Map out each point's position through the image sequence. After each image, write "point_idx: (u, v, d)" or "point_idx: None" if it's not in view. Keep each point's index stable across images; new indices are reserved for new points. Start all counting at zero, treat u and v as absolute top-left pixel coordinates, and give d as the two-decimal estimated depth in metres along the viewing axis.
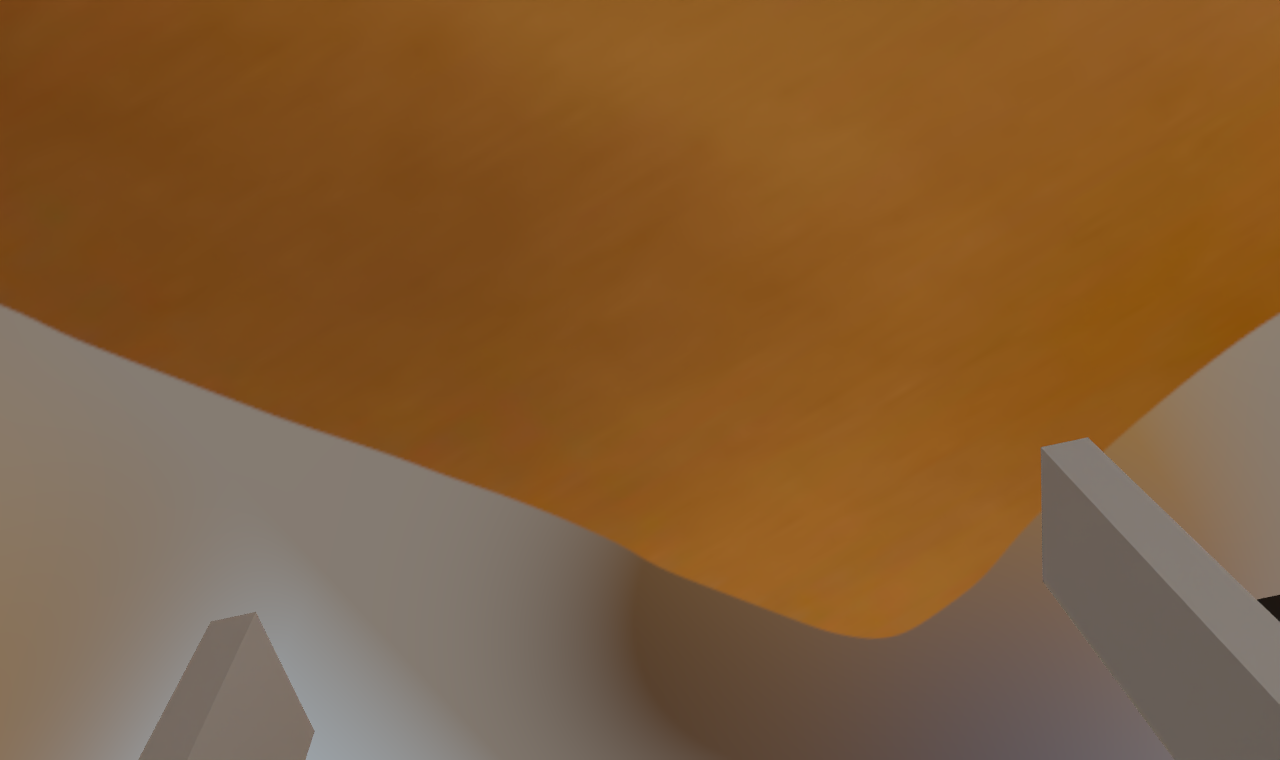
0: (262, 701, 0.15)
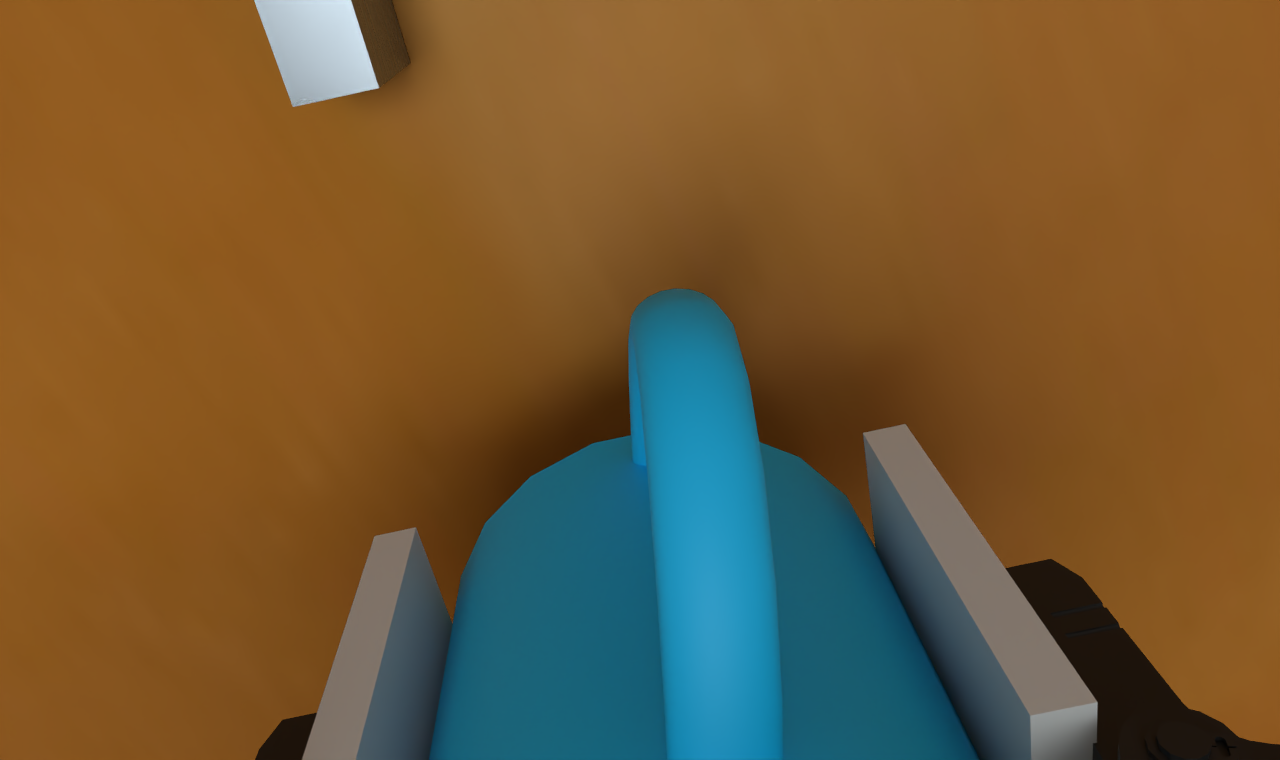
0: (426, 607, 0.16)
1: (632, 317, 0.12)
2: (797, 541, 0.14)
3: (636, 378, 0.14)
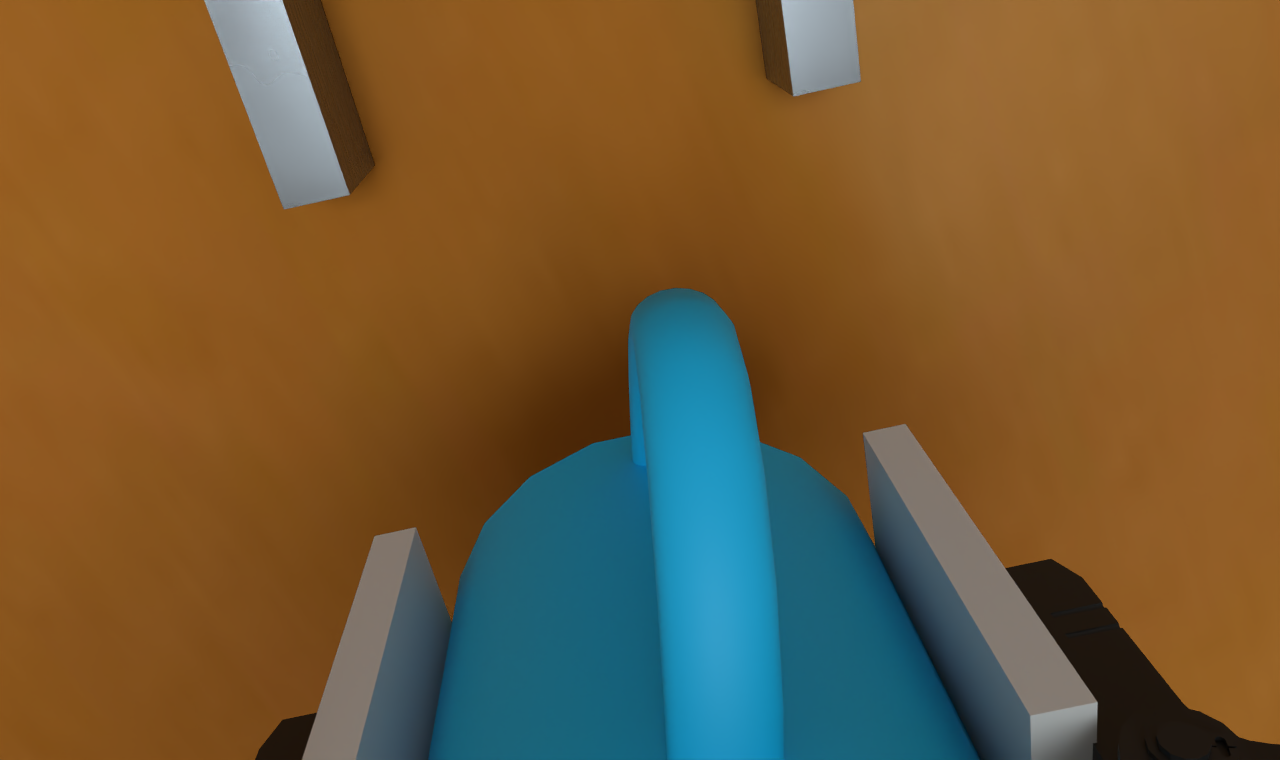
0: (426, 607, 0.16)
1: (632, 317, 0.12)
2: (797, 542, 0.14)
3: (636, 378, 0.14)
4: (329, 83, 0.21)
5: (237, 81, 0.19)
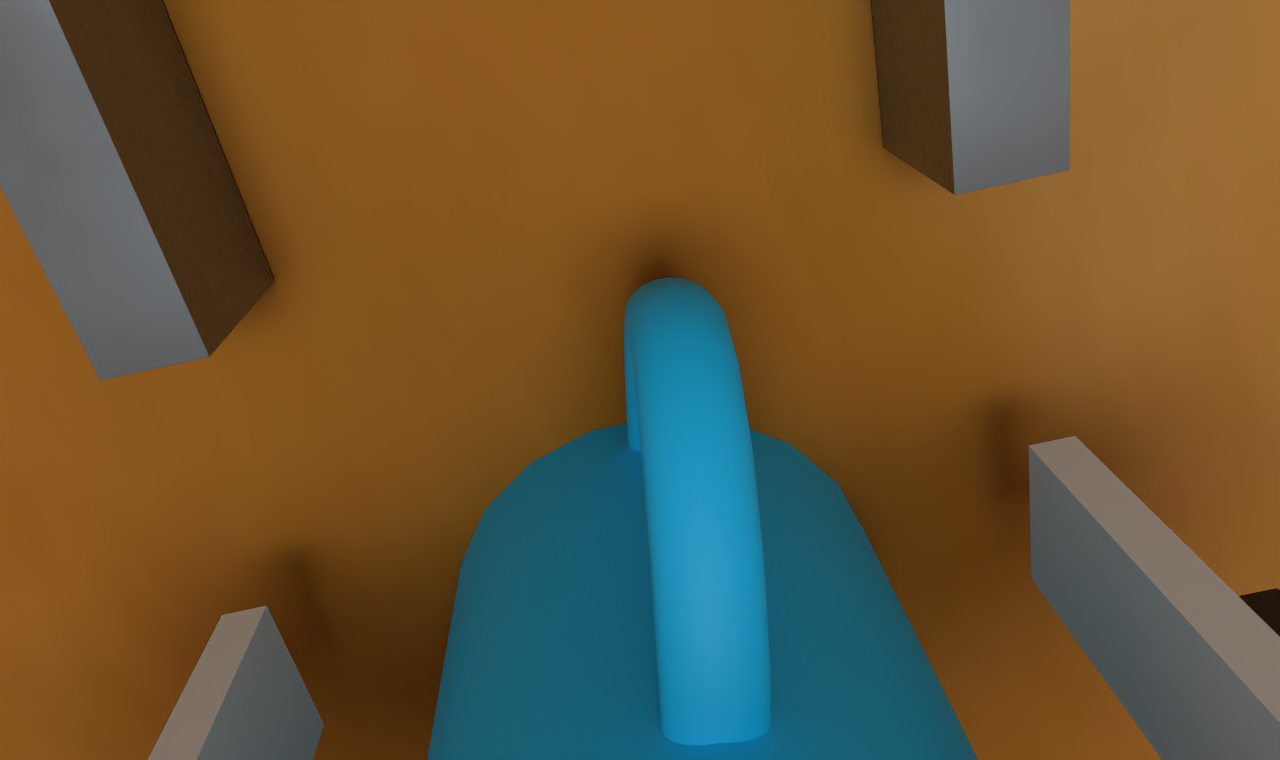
0: (273, 694, 0.15)
1: (627, 304, 0.12)
2: (787, 522, 0.14)
3: (631, 365, 0.14)
4: (179, 168, 0.13)
5: (2, 175, 0.11)
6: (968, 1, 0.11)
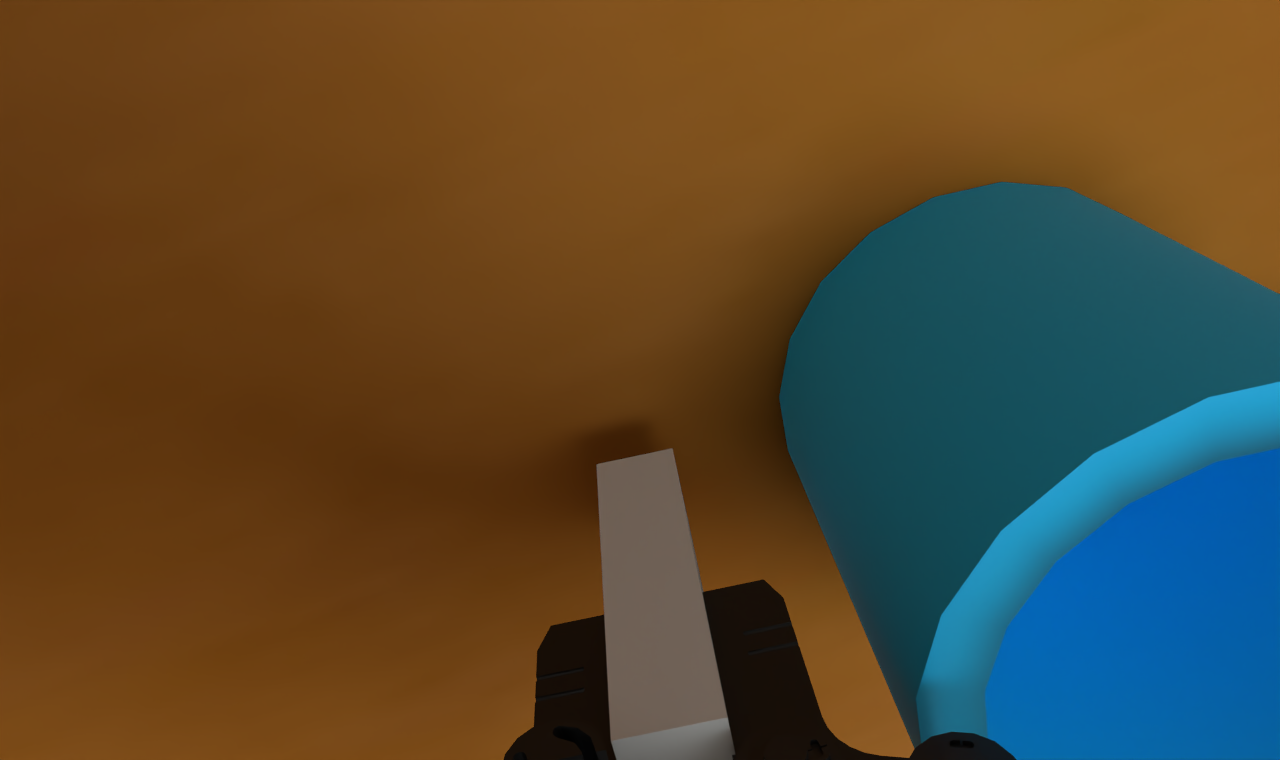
0: None
1: None
2: None
3: None
4: None
5: None
6: None
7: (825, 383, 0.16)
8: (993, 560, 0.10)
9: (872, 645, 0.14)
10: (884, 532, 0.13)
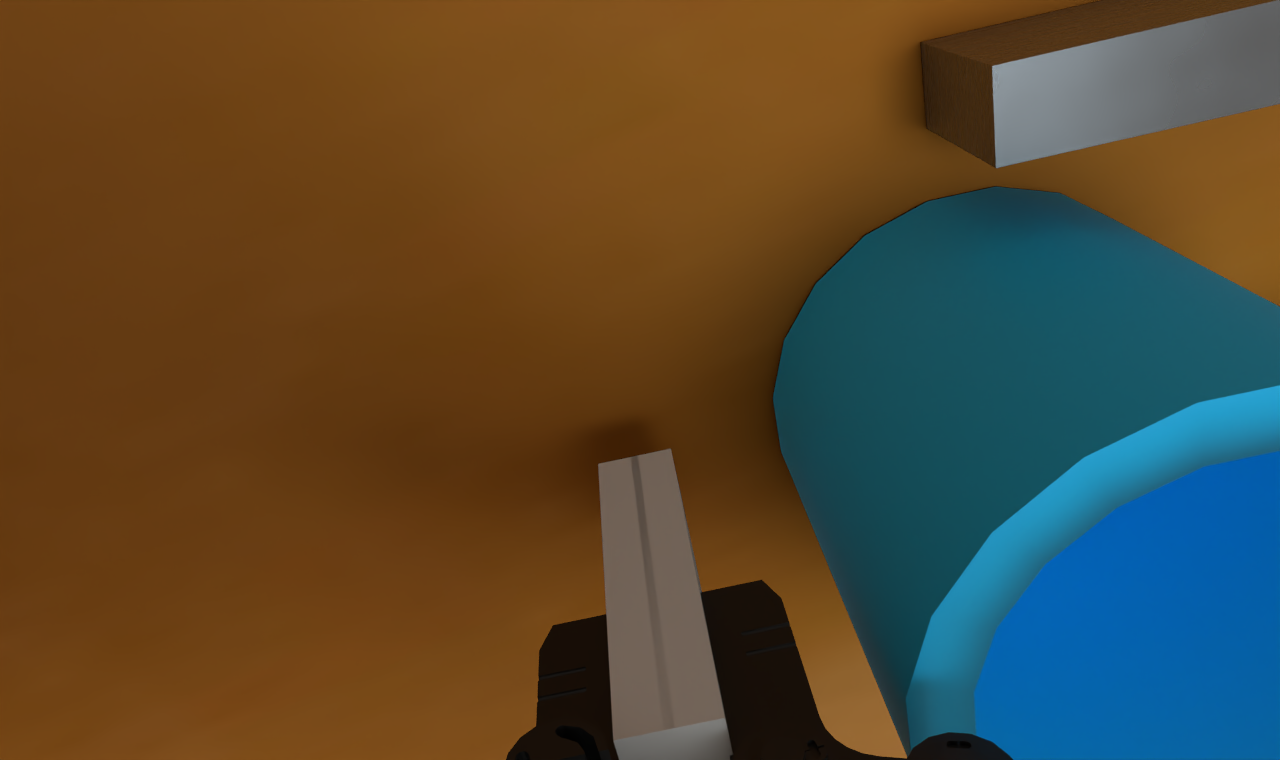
0: None
1: None
2: None
3: None
4: None
5: (1177, 20, 0.13)
6: None
7: (819, 385, 0.16)
8: (983, 562, 0.11)
9: (863, 646, 0.14)
10: (875, 533, 0.13)
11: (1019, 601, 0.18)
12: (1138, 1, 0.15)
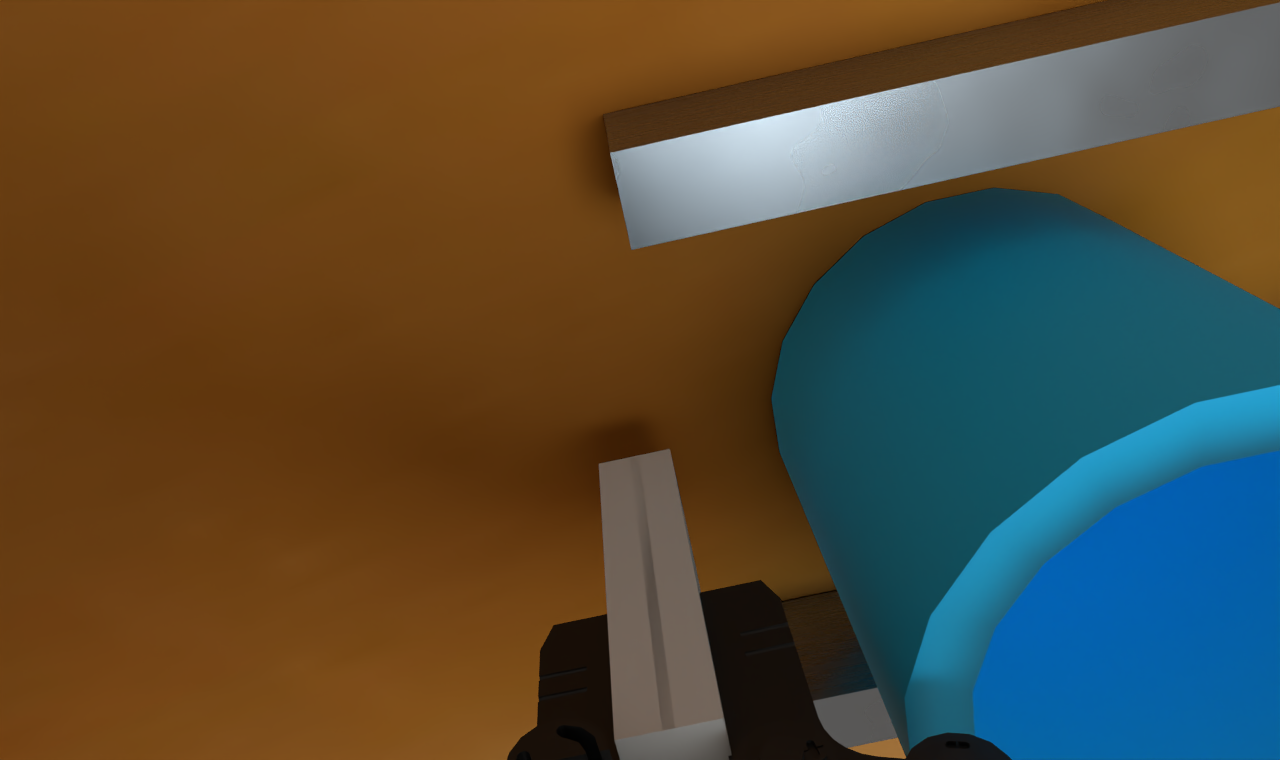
0: None
1: None
2: None
3: None
4: None
5: (795, 108, 0.13)
6: (849, 703, 0.19)
7: (818, 385, 0.16)
8: (982, 562, 0.11)
9: (861, 646, 0.14)
10: (874, 534, 0.13)
11: (1017, 602, 0.18)
12: (802, 79, 0.15)
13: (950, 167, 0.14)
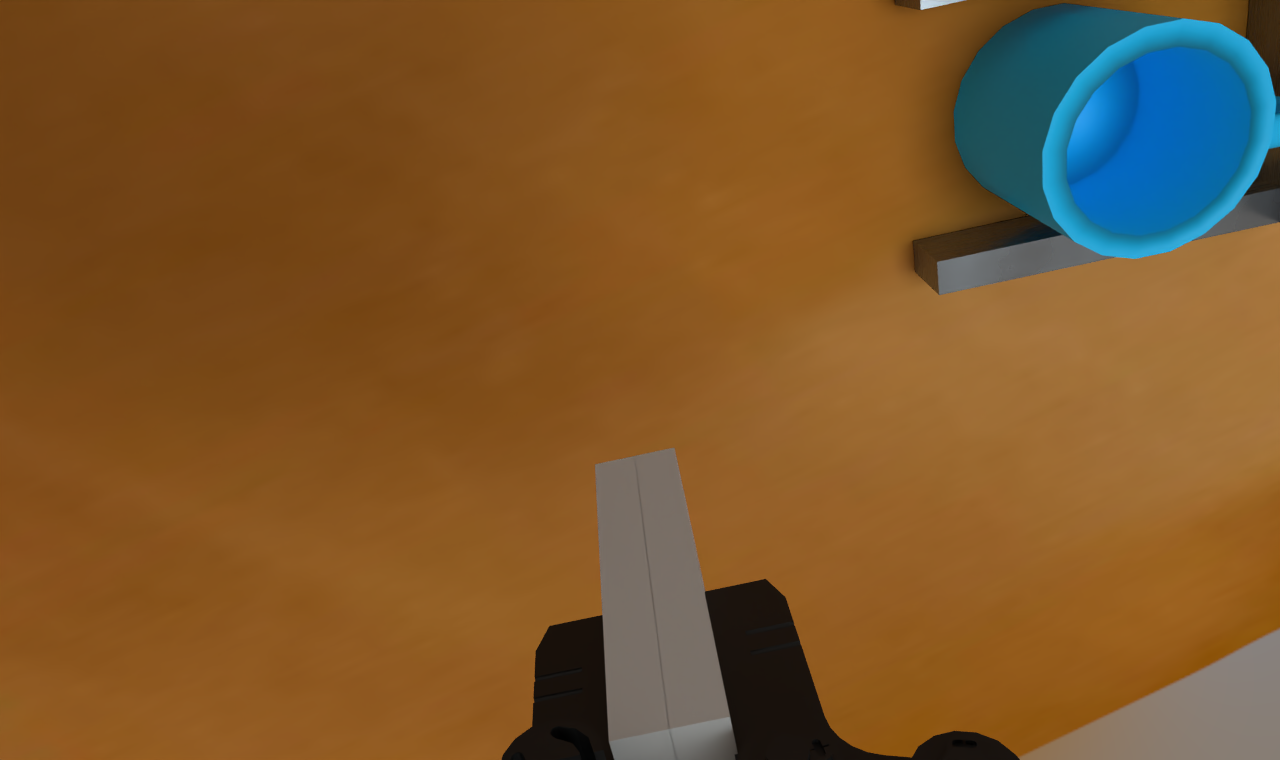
0: None
1: None
2: None
3: None
4: None
5: None
6: (991, 256, 0.39)
7: (987, 83, 0.36)
8: (1073, 89, 0.31)
9: (1015, 170, 0.34)
10: (1025, 110, 0.33)
11: (1072, 197, 0.38)
12: None
13: None
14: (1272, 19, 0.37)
